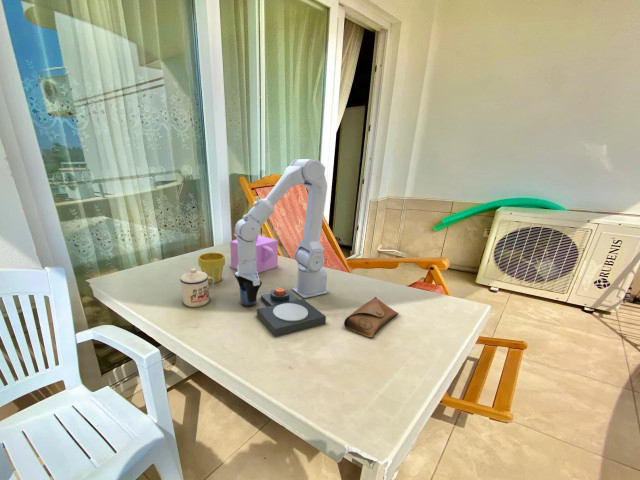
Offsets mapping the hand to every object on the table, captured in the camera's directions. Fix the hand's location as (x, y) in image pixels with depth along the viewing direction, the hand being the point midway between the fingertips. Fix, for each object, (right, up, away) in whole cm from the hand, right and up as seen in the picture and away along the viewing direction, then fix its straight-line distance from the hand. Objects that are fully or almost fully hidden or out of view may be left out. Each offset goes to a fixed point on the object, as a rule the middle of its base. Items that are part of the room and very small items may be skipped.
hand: (248, 297), depth 99 cm
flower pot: (-13, +5, +20) cm, 25 cm away
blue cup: (0, -1, 0) cm, 1 cm away
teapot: (+3, +10, +33) cm, 34 cm away
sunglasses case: (+35, -6, -12) cm, 38 cm away
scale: (+12, -6, -10) cm, 17 cm away
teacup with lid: (-16, -1, +4) cm, 17 cm away
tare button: (+10, +1, 0) cm, 10 cm away
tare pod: (+10, -1, +1) cm, 11 cm away
